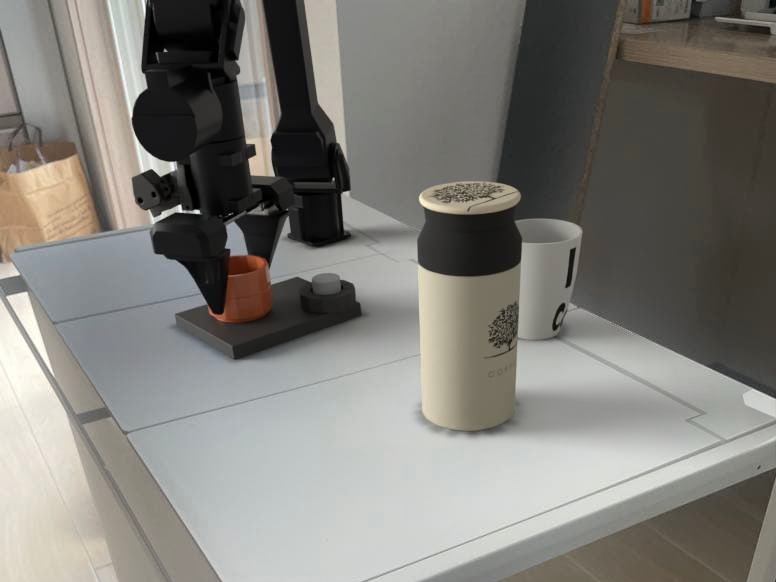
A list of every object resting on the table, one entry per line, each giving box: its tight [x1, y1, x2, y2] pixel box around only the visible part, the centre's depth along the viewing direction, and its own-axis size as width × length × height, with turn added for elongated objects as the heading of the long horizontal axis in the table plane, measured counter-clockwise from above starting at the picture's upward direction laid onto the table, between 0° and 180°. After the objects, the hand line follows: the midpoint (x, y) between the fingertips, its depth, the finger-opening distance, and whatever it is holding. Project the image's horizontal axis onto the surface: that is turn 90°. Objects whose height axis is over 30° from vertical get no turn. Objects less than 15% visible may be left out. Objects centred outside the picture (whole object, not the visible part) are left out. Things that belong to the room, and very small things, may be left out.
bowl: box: [206, 254, 273, 323], centre depth 88 cm, size 7×7×5 cm
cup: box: [514, 218, 583, 341], centre depth 83 cm, size 8×8×10 cm
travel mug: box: [416, 180, 522, 432], centre depth 67 cm, size 8×8×18 cm
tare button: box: [311, 272, 341, 295], centre depth 89 cm, size 3×3×2 cm
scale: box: [174, 276, 362, 360], centre depth 90 cm, size 16×12×3 cm
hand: (240, 297), depth 88 cm, fingers open, 9 cm apart
